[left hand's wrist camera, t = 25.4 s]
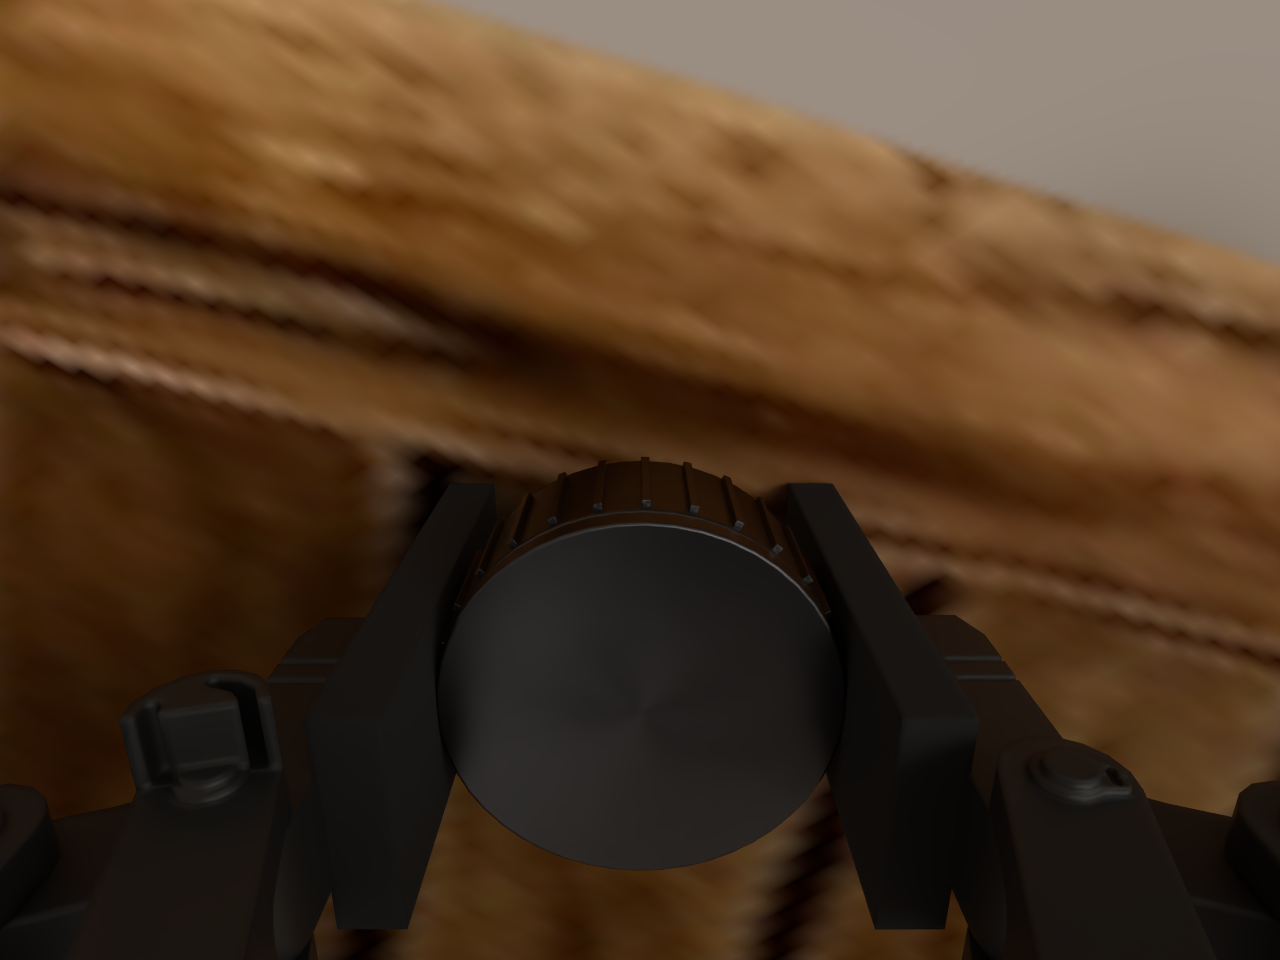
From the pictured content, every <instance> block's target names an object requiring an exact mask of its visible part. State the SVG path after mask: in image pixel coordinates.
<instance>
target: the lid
mask: <svg viewBox="0 0 1280 960" xmlns="http://www.w3.org/2000/svg"><path fill="white" fill-rule="evenodd" d="M452 611H454V614H453V617H452V619H451V621H450V624H449V626H448V628H447V631H446V633H445V635H444V638H443V640H442V642H441V644H442V650H443V652H442V655H441V658H440V662H439V668H438V674H437V680H436V706H437V715H438V723H439V729H440V733H441V736H442V739H443V742H444V746H445V749H446V752H447V754H448V756H449V758H450V760H451V762H452V764H453V767H454V769H455V771H456V773H457V774H458V776H459V777H460V779H461V780H462V782H463V783H464V785H465V786H466V788H467V789H468V791H469V792H470V793H471V794H472V795H473V797H474V798H475V799H476V800H477V801H478V802H479V803H480V805H481V806H482V807H483V808H484V809H485V810H486V811H487V812H488V813H489V814H491V815H492V816H493V817H494V818H495V819H496V820H497V821H498V822H500V823H501V824H502V825H503V826H505V827H506V828H508V829H509V830H511V831H512V832H513V833H515V834H516V835H518V836H519V837H521V838H522V839H524V840H526V841H528V842H530V843H532V844H534V845H536V846H537V847H539V848H541V849H543V850H546V851H548V852H551V853H553V854H556V855H558V856H561V857H563V858H566V859H570V860H573V861H577V862H581V863H584V864H588V865H593V866H599V867H605V868H611V869H623V870H662V869H669V868H676V867H684V866H689V865H693V864H697V863H701V862H705V861H709V860H712V859H715V858H718V857H720V856H723V855H726V854H729V853H732V852H734V851H736V850H738V849H740V848H742V847H744V846H746V845H748V844H750V843H752V842H754V841H756V840H757V839H759V838H761V837H762V836H764V835H765V834H767V833H768V832H770V831H772V830H773V829H775V828H776V827H777V826H778V825H779V824H781V823H782V822H783V821H784V820H786V819H787V818H788V817H789V816H790V815H792V814H793V813H794V812H795V811H796V810H797V809H798V808H799V806H800V805H801V804H802V803H803V802H804V801H805V800H806V799H807V798H808V797H809V796H810V794H811V793H812V792H813V790H814V789H815V787H816V786H817V785H818V783H819V782H820V781H821V779H822V778H823V776H824V774H825V772H826V770H827V768H828V767H829V765H830V763H831V761H832V759H833V757H834V754H835V751H836V749H837V746H838V743H839V740H840V738H841V734H842V729H843V724H844V717H845V707H846V693H847V688H846V678H845V669H844V664H843V661H842V657H841V653H840V649H839V646H838V643H837V641H836V638H835V636H834V634H833V631H832V629H831V627H830V624H829V622H828V620H829V619H832V618H834V616H833V614H832V612H831V609H830V607H829V605H828V603H827V600H826V598H825V596H824V594H823V591H822V589H821V587H820V584H819V582H818V580H817V578H816V575H815V573H814V571H813V569H812V566H811V564H810V562H809V560H808V557H807V556H806V557H803V556H802V553H801V551H800V549H799V546H798V544H797V542H796V539H795V537H794V535H793V532H792V530H791V528H790V527H789V526H788V524H786V525H785V526H783V527H782V526H781V524H780V523H779V522H778V521H777V520H776V518H775V517H774V516H773V515H772V514H771V513H770V512H769V511H768V509H767V506H766V503H765V501H764V500H763V499H762V498H761V497H758V498H757V499H756V500H755V499H754V498H753V497H751V496H750V495H748V494H747V493H745V492H744V491H742V490H741V489H739V488H738V487H736V486H735V485H733V484H732V481H731V478H729V477H727V476H725V475H724V476H723V478H722V479H721V478H719V477H717V476H714V475H711V474H709V473H706V472H703V471H700V470H697V469H694V468H692V465H691V463H688V462H684V463H683V466H681V465H676V464H671V463H663V462H651V461H649V457H641V461H634V462H618V463H612V464H607V461H606V460H603V461H599V463H598V466H595V467H592V468H589V469H585V470H582V471H579V472H575V473H573V474H570V475H568V476H567V474H566V472H564V473H561V474H559V475H558V479H557V481H555V482H553V483H551V484H549V485H548V486H546V487H544V488H543V489H541V490H539V491H538V492H536V493H535V494H533V495H532V494H531V493H530V492H528V493H526V494H525V495H524V496H523V499H522V501H521V504H520V505H519V506H518V507H517V508H516V509H515V510H514V511H513V512H512V513H511V514H510V515H509V516H508V517H507V518H506V519H505V520H504V521H503V520H501V519H500V518H499V519H498V520H497V522H496V523H495V525H494V527H493V530H492V532H491V535H490V537H489V540H488V542H487V544H486V547H485V549H484V552H482V551H480V550H477V552H476V554H475V557H474V559H473V561H472V564H471V566H470V568H469V571H468V573H467V575H466V578H465V580H464V582H463V585H462V587H461V589H460V592H459V594H458V596H457V599H456V601H455V603H454V606H453V608H452Z"/></svg>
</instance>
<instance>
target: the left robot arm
mask: <svg viewBox="0 0 1280 960" xmlns="http://www.w3.org/2000/svg"><path fill="white" fill-rule="evenodd" d="M495 523H496V508H495V493H494V484H449V486H448V487H447V489H446V491H445V492H444V494H443V495H442V497H441V499H440V500H439V502H438V503H437V505H436V507H435V508H434V510H433V511H432V513H431V515H430V516H429V518H428V519H427V521H426V522H425V524H424V526H423V527H422V529H421V530H420V532H419V534H418V535H417V537H416V538H415V540H414V542H413V543H412V545H411V546H410V548H409V550H408V551H407V553H406V554H405V556H404V558H403V559H402V561H401V562H400V564H399V566H398V567H397V569H396V570H395V572H394V574H393V575H392V577H391V578H390V580H389V582H388V583H387V585H386V586H385V588H384V589H383V591H382V593H381V594H380V596H379V597H378V599H377V601H376V602H375V604H374V605H373V607H372V609H371V610H370V612H369V613H368V615H367V617H366V618H327V619H325V620H324V621H322V622H321V623H319V624H318V625H316V626H315V627H313V628H312V629H310V630H308V631H307V632H305V633H304V634H302V635H301V636H299V637H298V638H297V640H296V641H295V643H294V644H293V645H292V647H291V648H290V649H289V651H288V652H287V653H286V655H285V656H284V657H283V659H282V663H281V664H278V665H277V667H276V668H275V669H274V671H273V672H272V673H271V675H270V676H269V677H268V682H266V681H264V680H263V679H262V678H261V677H259V676H258V675H257V674H253V673H248V672H244V671H240V670H216V671H207V672H202V673H198V674H193V675H189V676H184V677H181V678H179V679H176V680H174V681H171V682H169V683H166V684H164V685H161V686H159V687H156V688H154V689H153V690H151V691H150V692H148V693H147V694H145V695H144V696H142V697H140V698H139V699H137V700H136V701H134V702H133V703H132V704H131V705H130V706H129V707H128V709H127V710H126V711H125V712H124V713H123V714H122V716H121V717H120V718H119V723H120V727H121V731H122V735H123V739H124V743H125V747H126V750H127V754H128V758H129V762H130V766H131V770H132V774H133V778H134V782H135V786H136V789H137V792H136V794H135V796H134V799H133V801H132V802H131V803H128V804H124V805H120V806H117V807H112V808H107V809H103V810H98V811H93V812H88V813H84V814H79V815H74V816H70V817H65V818H60V819H55V820H52V818H51V815H50V812H49V808H48V805H47V802H46V799H45V797H44V796H43V795H42V794H41V793H39V792H38V791H37V790H36V789H34V788H33V787H29V786H22V785H15V784H4V785H0V960H318V959H317V952H316V945H315V939H314V933H313V931H314V929H315V927H316V925H317V922H318V920H319V918H320V915H321V913H322V911H323V909H324V906H325V904H326V902H327V899H328V897H329V895H330V892H332V898H333V904H334V910H335V916H336V922H337V928H338V929H407V928H408V925H409V922H410V919H411V916H412V912H413V909H414V906H415V903H416V900H417V896H418V893H419V890H420V887H421V884H422V880H423V877H424V874H425V871H426V868H427V865H428V861H429V858H430V855H431V852H432V849H433V845H434V842H435V839H436V836H437V833H438V829H439V826H440V823H441V820H442V817H443V813H444V810H445V807H446V804H447V801H448V797H449V794H450V791H451V788H452V785H453V782H454V778H455V775H456V771H455V769H454V767H453V764H452V762H451V760H450V758H449V756H448V754H447V752H446V749H445V746H444V742H443V739H442V736H441V733H440V729H439V723H438V715H437V706H436V680H437V674H438V668H439V662H440V658H441V655H442V652H443V650H442V644H441V642H442V640H443V638H444V635H445V633H446V631H447V628H448V626H449V624H450V621H451V619H452V617H453V614H454V611H452V608H453V606H454V603H455V601H456V599H457V596H458V594H459V592H460V589H461V587H462V585H463V582H464V580H465V578H466V575H467V573H468V571H469V568H470V566H471V564H472V561H473V559H474V557H475V554H476V552H477V550H480V551H482V552H484V549H485V547H486V544H487V542H488V540H489V537H490V535H491V532H492V530H493V527H494V525H495ZM786 524H788V526H789V527H790V528H791V530H792V532H793V535H794V537H795V539H796V542H797V544H798V546H799V549H800V551H801V553H802V556H803V557H806V556H807V557H808V560H809V562H810V564H811V566H812V569H813V571H814V573H815V575H816V578H817V580H818V582H819V584H820V587H821V589H822V591H823V594H824V596H825V598H826V600H827V603H828V605H829V607H830V609H831V612H832V614H833V616H834V618H832V619H829V620H828V622H829V624H830V627H831V629H832V631H833V634H834V636H835V638H836V641H837V643H838V646H839V649H840V653H841V657H842V661H843V664H844V669H845V678H846V688H847V693H846V707H845V717H844V724H843V729H842V734H841V738H840V740H839V743H838V746H837V749H836V751H835V754H834V757H833V759H832V761H831V763H830V765H829V767H828V768H827V770H826V774H827V778H828V781H829V784H830V787H831V790H832V793H833V797H834V800H835V803H836V806H837V809H838V813H839V816H840V819H841V822H842V825H843V828H844V832H845V835H846V838H847V841H848V844H849V848H850V851H851V854H852V857H853V860H854V864H855V867H856V870H857V873H858V876H859V879H860V883H861V886H862V889H863V892H864V895H865V899H866V902H867V905H868V908H869V911H870V915H871V918H872V921H873V924H874V927H875V929H945V925H946V919H947V913H948V907H949V901H950V895H951V889H952V890H953V892H954V894H955V897H956V899H957V901H958V903H959V906H960V908H961V910H962V913H963V915H964V917H965V919H966V922H967V924H968V928H967V933H966V939H965V945H964V950H963V956H962V960H1280V781H1268V782H1260V783H1253V784H1251V785H1250V786H1248V787H1247V788H1246V789H1244V790H1243V791H1242V792H1241V793H1239V796H1238V799H1237V802H1236V806H1235V809H1234V812H1233V816H1232V817H1229V816H1224V815H1219V814H1215V813H1210V812H1205V811H1200V810H1196V809H1191V808H1186V807H1181V806H1177V805H1172V804H1167V803H1164V802H1160V801H1156V800H1153V799H1149V798H1147V797H1146V795H1145V792H1144V790H1143V789H1142V787H1141V786H1140V785H1139V783H1138V782H1137V780H1136V779H1135V778H1134V776H1133V775H1132V774H1131V772H1130V771H1128V770H1127V769H1126V768H1124V767H1123V766H1122V765H1120V764H1119V763H1118V762H1116V761H1115V760H1114V759H1112V758H1111V757H1110V756H1108V755H1106V754H1104V753H1102V752H1100V751H1097V750H1095V749H1093V748H1091V747H1089V746H1087V745H1084V744H1082V743H1078V742H1074V741H1070V740H1066V739H1063V738H1062V737H1061V736H1060V734H1059V733H1058V732H1057V730H1056V729H1055V728H1054V726H1053V725H1052V724H1051V722H1050V721H1049V720H1048V718H1047V717H1046V716H1045V714H1044V713H1043V712H1042V710H1041V709H1040V708H1039V706H1038V705H1037V704H1036V702H1035V701H1034V700H1033V698H1032V697H1031V696H1030V694H1029V693H1028V692H1027V690H1026V689H1025V688H1024V686H1023V685H1022V684H1021V682H1020V681H1019V680H1016V679H1015V675H1014V673H1013V672H1012V671H1011V669H1010V668H1009V667H1008V665H1007V664H1006V663H1005V661H1001V656H1000V655H999V653H998V652H997V651H996V649H995V648H994V647H993V645H992V644H991V643H990V641H989V640H988V639H987V637H986V636H985V635H984V634H983V633H981V632H980V631H978V630H977V629H975V628H974V627H972V626H971V625H969V624H968V623H966V622H965V621H963V620H962V619H960V618H959V617H957V616H955V615H915V614H914V613H913V611H912V609H911V608H910V606H909V605H908V603H907V601H906V600H905V598H904V597H903V595H902V594H901V592H900V590H899V589H898V587H897V586H896V584H895V582H894V581H893V579H892V578H891V576H890V574H889V573H888V571H887V570H886V568H885V566H884V565H883V563H882V562H881V560H880V559H879V557H878V555H877V554H876V552H875V551H874V549H873V547H872V546H871V544H870V543H869V541H868V539H867V538H866V536H865V535H864V533H863V531H862V530H861V528H860V527H859V525H858V523H857V522H856V520H855V519H854V517H853V516H852V514H851V512H850V511H849V509H848V508H847V506H846V504H845V503H844V501H843V500H842V498H841V496H840V495H839V493H838V492H837V490H836V488H835V487H834V485H833V484H788V497H787V512H786Z"/></svg>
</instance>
